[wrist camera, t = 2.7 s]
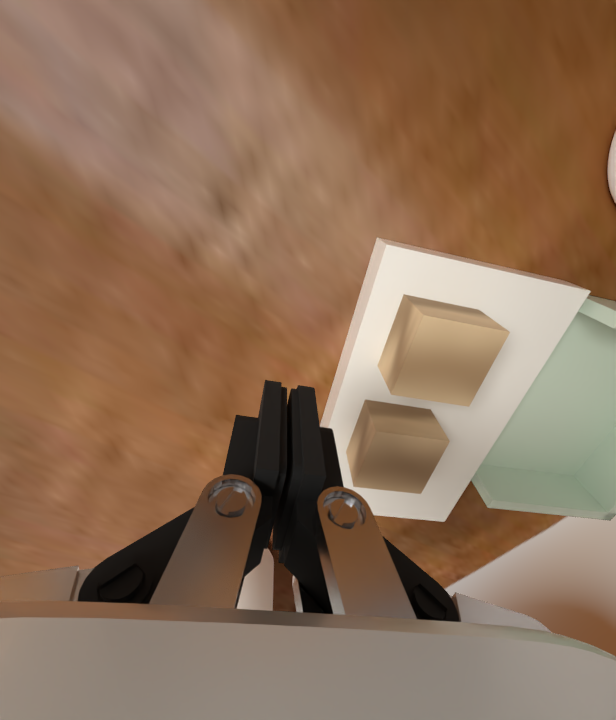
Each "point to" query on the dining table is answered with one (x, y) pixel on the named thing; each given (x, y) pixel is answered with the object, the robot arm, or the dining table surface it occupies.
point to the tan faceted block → (439, 351)
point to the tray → (562, 428)
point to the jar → (612, 168)
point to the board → (498, 390)
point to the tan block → (395, 447)
